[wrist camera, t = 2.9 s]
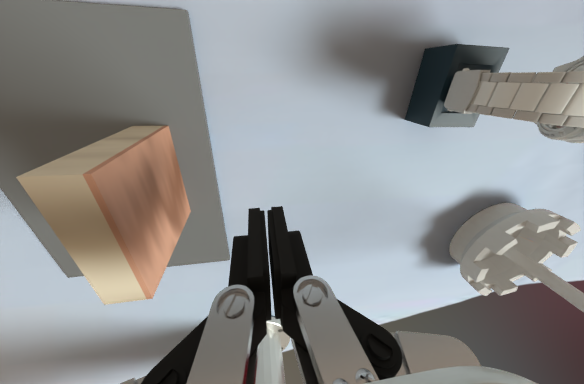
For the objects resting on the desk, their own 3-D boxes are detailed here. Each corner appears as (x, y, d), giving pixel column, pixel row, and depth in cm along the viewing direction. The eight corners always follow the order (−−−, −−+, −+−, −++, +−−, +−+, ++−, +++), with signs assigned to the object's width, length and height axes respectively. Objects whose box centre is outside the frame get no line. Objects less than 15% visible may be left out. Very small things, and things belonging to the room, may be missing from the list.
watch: (461, 120, 21) (639, 159, 11) (387, 119, 19) (518, 163, 10) (490, 52, 18) (757, 27, 8) (405, 46, 17) (611, 9, 7)
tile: (190, 211, 20) (152, 298, 12) (162, 213, 20) (104, 304, 12) (168, 125, 16) (91, 173, 8) (132, 125, 16) (16, 177, 8)
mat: (229, 256, 24) (229, 260, 24) (71, 273, 22) (68, 277, 21) (188, 12, 13) (186, 9, 13) (-137, -11, 11) (-153, -15, 10)
